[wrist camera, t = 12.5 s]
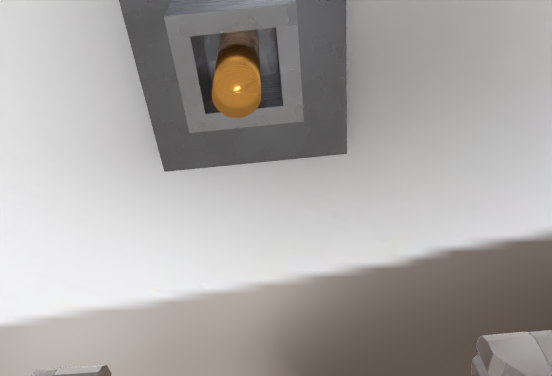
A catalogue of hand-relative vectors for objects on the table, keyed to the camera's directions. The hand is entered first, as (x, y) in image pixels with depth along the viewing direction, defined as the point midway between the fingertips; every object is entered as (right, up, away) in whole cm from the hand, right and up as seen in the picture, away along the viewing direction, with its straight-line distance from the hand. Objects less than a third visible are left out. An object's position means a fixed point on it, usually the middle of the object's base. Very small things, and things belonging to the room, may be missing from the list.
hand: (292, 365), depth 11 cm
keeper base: (-2, +13, +17) cm, 22 cm away
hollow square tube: (-2, +12, +17) cm, 21 cm away
